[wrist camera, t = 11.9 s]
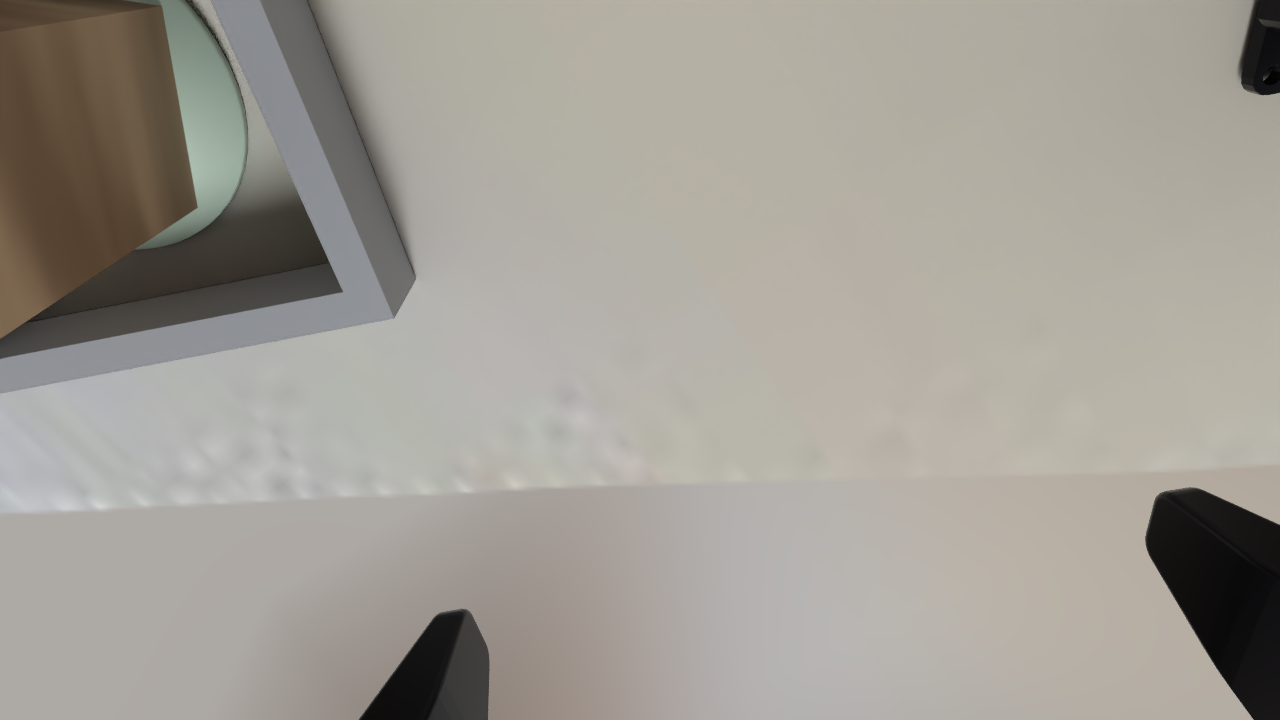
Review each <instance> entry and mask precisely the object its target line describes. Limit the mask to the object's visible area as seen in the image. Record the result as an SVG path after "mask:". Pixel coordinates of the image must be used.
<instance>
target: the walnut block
mask: <svg viewBox="0 0 1280 720" xmlns="http://www.w3.org/2000/svg"><path fill="white" fill-rule="evenodd" d="M197 208H198V206H197V200H196V195H195V189H194V183H193V178H192V172H191V167H190V161H189V155H188V150H187V144H186V138H185V133H184V127H183V122H182V116H181V110H180V105H179V99H178V94H177V88H176V82H175V77H174V71H173V65H172V60H171V54H170V49H169V43H168V37H167V32H166V26H165V20H164V15H163V9H162V6H158V5H151V4H145V3H138V2H132V1H125V0H0V339H1V338H2V337H4V336H5V335H7V334H8V333H10V332H11V331H13V330H14V329H16V328H17V327H19V326H20V325H22V324H23V323H25V322H26V321H28V320H29V319H31V318H32V317H34V316H35V315H37V314H38V313H40V312H41V311H43V310H44V309H46V308H47V307H49V306H51V305H52V304H54V303H55V302H57V301H58V300H60V299H61V298H63V297H64V296H66V295H67V294H69V293H70V292H72V291H73V290H75V289H76V288H78V287H79V286H81V285H82V284H84V283H85V282H87V281H88V280H90V279H91V278H93V277H94V276H96V275H97V274H99V273H100V272H102V271H103V270H105V269H106V268H108V267H109V266H111V265H112V264H114V263H115V262H117V261H118V260H120V259H121V258H123V257H124V256H126V255H127V254H129V253H130V252H132V251H133V250H135V249H136V248H138V247H139V246H141V245H142V244H144V243H145V242H147V241H148V240H150V239H151V238H153V237H154V236H156V235H158V234H159V233H161V232H162V231H164V230H165V229H167V228H168V227H170V226H171V225H173V224H174V223H176V222H177V221H179V220H180V219H182V218H183V217H185V216H186V215H188V214H189V213H191V212H192V211H194V210H195V209H197Z"/></svg>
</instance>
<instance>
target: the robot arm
mask: <svg viewBox="0 0 1280 720" xmlns="http://www.w3.org/2000/svg"><path fill="white" fill-rule="evenodd" d="M1270 67H1272V71H1271V73H1270V75H1269V76H1268V77H1267V78H1266V79H1265V80H1264V81H1263V77H1264V75H1265V73H1266V71H1267V70H1268V69H1269V68H1270ZM1241 84H1242V86H1243V88H1244V89H1245V90H1247V91H1248V92H1251V93H1255V94H1259V95H1271V94H1276V93H1280V0H1260V3H1259V8H1258V12H1257V16H1256V20H1255V24H1254V28H1253V32H1252V36H1251V40H1250V45H1249V49H1248V53H1247V57H1246V61H1245V65H1244V69H1243V73H1242V82H1241ZM1145 538H1146V539H1145V540H1146V547H1147V551H1148V553H1149V556H1150V558H1151V559H1152V561H1153V563H1154V564H1155V566H1156V568H1157V570H1158V571H1159V573H1160V575H1161V576H1162V578H1163V580H1164V581H1165V583H1166V585H1167V586H1168V588H1169V590H1170V592H1171V593H1172V595H1173V597H1174V598H1175V600H1176V602H1177V603H1178V605H1179V607H1180V608H1181V610H1182V612H1183V614H1184V615H1185V617H1186V619H1187V620H1188V622H1189V624H1190V625H1191V627H1192V629H1193V630H1194V632H1195V634H1196V635H1197V637H1198V639H1199V641H1200V642H1201V644H1202V646H1203V647H1204V649H1205V650H1206V652H1207V654H1208V655H1209V657H1210V658H1211V660H1212V662H1213V663H1214V665H1215V666H1216V668H1217V669H1218V671H1219V672H1220V674H1221V675H1222V677H1223V678H1224V679H1225V681H1226V682H1227V684H1228V685H1229V687H1230V688H1231V689H1232V691H1233V692H1234V693H1235V695H1236V696H1237V698H1238V699H1239V700H1240V702H1241V703H1242V704H1243V706H1244V707H1245V709H1246V710H1247V711H1248V712H1249V714H1250V715H1251V717H1252V718H1253V719H1254V720H1280V525H1279V524H1277V523H1274V522H1272V521H1270V520H1268V519H1265V518H1263V517H1261V516H1259V515H1257V514H1254V513H1252V512H1250V511H1248V510H1246V509H1243V508H1241V507H1239V506H1237V505H1235V504H1233V503H1230V502H1228V501H1226V500H1224V499H1221V498H1219V497H1217V496H1215V495H1213V494H1210V493H1208V492H1206V491H1204V490H1201V489H1198V488H1182V489H1176V490H1170V491H1164V492H1162V493H1160V494H1159V495H1158V496H1157V497H1156V498H1155V501H1154V505H1153V509H1152V513H1151V517H1150V520H1149V525H1148V528H1147V532H1146V537H1145ZM488 693H489V653H488V648H487V645H486V643H485V641H484V639H483V637H482V635H481V633H480V631H479V629H478V626H477V624H476V622H475V620H474V618H473V616H472V614H471V613H470V611H468V610H467V609H458V610H452V611H446V612H441V613H439V614H438V615H436V616H435V617H434V618H433V619H432V621H431V622H430V623H429V625H428V626H427V627H426V629H425V630H424V631H423V633H422V634H421V636H420V637H419V638H418V640H417V641H416V642H415V644H414V645H413V647H412V648H411V649H410V651H409V652H408V653H407V655H406V656H405V657H404V659H403V660H402V661H401V663H400V664H399V666H398V667H397V668H396V670H395V671H394V672H393V674H392V675H391V676H390V678H389V679H388V681H387V682H386V683H385V685H384V686H383V687H382V689H381V690H380V691H379V693H378V694H377V696H376V697H375V698H374V700H373V701H372V702H371V704H370V705H369V706H368V708H367V709H366V710H365V712H364V713H363V715H362V716H361V717H360V719H359V720H488V696H489V694H488Z"/></svg>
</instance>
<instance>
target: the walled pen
mask: <svg viewBox="0 0 1280 720" xmlns="http://www.w3.org/2000/svg"><path fill="white" fill-rule="evenodd" d="M125 1H132V2H138V3H145V4H151V5H158V6H162V9H163V15H164V20H165V26H166V32H167V37H168V43H169V49H170V54H171V60H172V65H173V71H174V77H175V82H176V88H177V94H178V99H179V105H180V110H181V116H182V122H183V127H184V133H185V138H186V144H187V150H188V155H189V161H190V167H191V172H192V178H193V183H194V189H195V195H196V200H197V206H198V208H197V209H195V210H194V211H192V212H191V213H189V214H188V215H186V216H185V217H183V218H182V219H180V220H179V221H177V222H176V223H174V224H173V225H171V226H170V227H168V228H167V229H165V230H164V231H162V232H161V233H159V234H158V235H156V236H154V237H153V238H151V239H150V240H148V241H147V242H145V243H144V244H142V245H141V246H139V247H138V248H136V249H135V250H143V249H151V248H158V247H163V246H167V245H170V244H174V243H177V242H180V241H182V240H184V239H186V238H189V237H191V236H193V235H194V234H196V233H197V232H199V231H200V230H202V229H204V228H205V227H207V226H208V225H209V224H211V223H212V222H213V221H214V220H215V219H216V218H217V217H218V216H219V215H220V214H221V213H223V211H224V210H225V209H226V207H227V206H228V205H229V203H230V202H231V201H232V199H233V198H234V196H235V194H236V192H237V190H238V188H239V186H240V183H241V180H242V177H243V174H244V170H245V167H246V160H247V153H248V128H247V121H246V114H245V108H244V105H243V101H242V97H241V94H240V90H239V87H238V84H237V82H236V79H235V77H234V74H233V72H232V69H231V67H230V65H229V63H228V61H227V59H226V57H225V56H224V54H223V52H222V50H221V48H220V46H219V44H218V43H217V41H216V40H215V38H214V37H213V35H212V34H211V32H210V31H209V29H208V28H207V26H206V25H205V23H204V22H203V21H202V20H201V18H200V17H199V16H198V15H197V13H196V12H195V11H194V10H193V9H192V7H191V6H190V5H189V4H188V3H187V1H186V0H125ZM211 3H212V5H213V7H214V9H215V11H216V14H217V16H218V18H219V20H220V22H221V25H222V27H223V29H224V31H225V33H226V36H227V38H228V40H229V42H230V44H231V47H232V49H233V51H234V53H235V55H236V58H237V60H238V62H239V64H240V66H241V69H242V71H243V73H244V75H245V77H246V80H247V82H248V84H249V86H250V88H251V91H252V93H253V95H254V97H255V99H256V102H257V104H258V106H259V108H260V110H261V113H262V115H263V117H264V119H265V121H266V124H267V126H268V128H269V130H270V132H271V135H272V137H273V139H274V141H275V143H276V146H277V148H278V150H279V152H280V154H281V156H282V159H283V161H284V163H285V165H286V167H287V170H288V172H289V174H290V176H291V178H292V181H293V183H294V185H295V187H296V189H297V192H298V194H299V196H300V198H301V200H302V203H303V205H304V207H305V209H306V211H307V214H308V216H309V218H310V220H311V222H312V225H313V227H314V229H315V231H316V233H317V236H318V238H319V240H320V242H321V244H322V247H323V249H324V251H325V253H326V255H327V258H328V260H329V262H330V263H327V264H322V265H317V266H312V267H307V268H302V269H297V270H292V271H287V272H282V273H277V274H272V275H266V276H261V277H256V278H251V279H246V280H241V281H236V282H231V283H226V284H221V285H216V286H211V287H206V288H201V289H195V290H190V291H185V292H180V293H175V294H170V295H165V296H160V297H155V298H150V299H145V300H140V301H135V302H130V303H124V304H119V305H114V306H109V307H104V308H99V309H94V310H89V311H84V312H79V313H74V314H69V315H64V316H59V317H53V318H48V319H43V320H38V321H33V322H28V323H23V324H22V325H20V326H19V327H17V328H16V329H14V330H13V331H11V332H10V333H8V334H7V335H5V336H4V337H2V338H1V339H0V394H1V393H6V392H11V391H16V390H21V389H27V388H32V387H37V386H42V385H48V384H53V383H58V382H63V381H69V380H74V379H79V378H84V377H90V376H95V375H100V374H105V373H111V372H116V371H121V370H126V369H132V368H137V367H142V366H147V365H153V364H158V363H163V362H168V361H174V360H179V359H184V358H189V357H195V356H200V355H205V354H210V353H216V352H221V351H226V350H231V349H237V348H242V347H247V346H252V345H257V344H263V343H268V342H273V341H278V340H284V339H289V338H294V337H299V336H305V335H310V334H315V333H320V332H326V331H331V330H336V329H341V328H347V327H352V326H357V325H362V324H368V323H373V322H378V321H383V320H389V319H394V318H395V316H396V314H397V312H398V311H399V309H400V307H401V305H402V303H403V302H404V300H405V298H406V296H407V294H408V293H409V291H410V289H411V287H412V286H413V284H414V282H415V280H416V278H415V275H414V273H413V270H412V268H411V265H410V263H409V260H408V258H407V255H406V252H405V250H404V247H403V245H402V242H401V240H400V237H399V235H398V232H397V229H396V227H395V224H394V222H393V219H392V217H391V214H390V212H389V209H388V206H387V204H386V201H385V199H384V196H383V194H382V191H381V188H380V186H379V183H378V181H377V178H376V176H375V173H374V171H373V168H372V165H371V163H370V160H369V158H368V155H367V153H366V150H365V148H364V145H363V142H362V140H361V137H360V135H359V132H358V130H357V127H356V125H355V122H354V119H353V117H352V114H351V112H350V109H349V107H348V104H347V101H346V99H345V96H344V94H343V91H342V89H341V86H340V84H339V81H338V78H337V76H336V73H335V71H334V68H333V66H332V63H331V61H330V58H329V55H328V53H327V50H326V48H325V45H324V43H323V40H322V38H321V35H320V32H319V30H318V27H317V25H316V22H315V20H314V17H313V14H312V12H311V9H310V7H309V4H308V2H307V0H211Z"/></svg>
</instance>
